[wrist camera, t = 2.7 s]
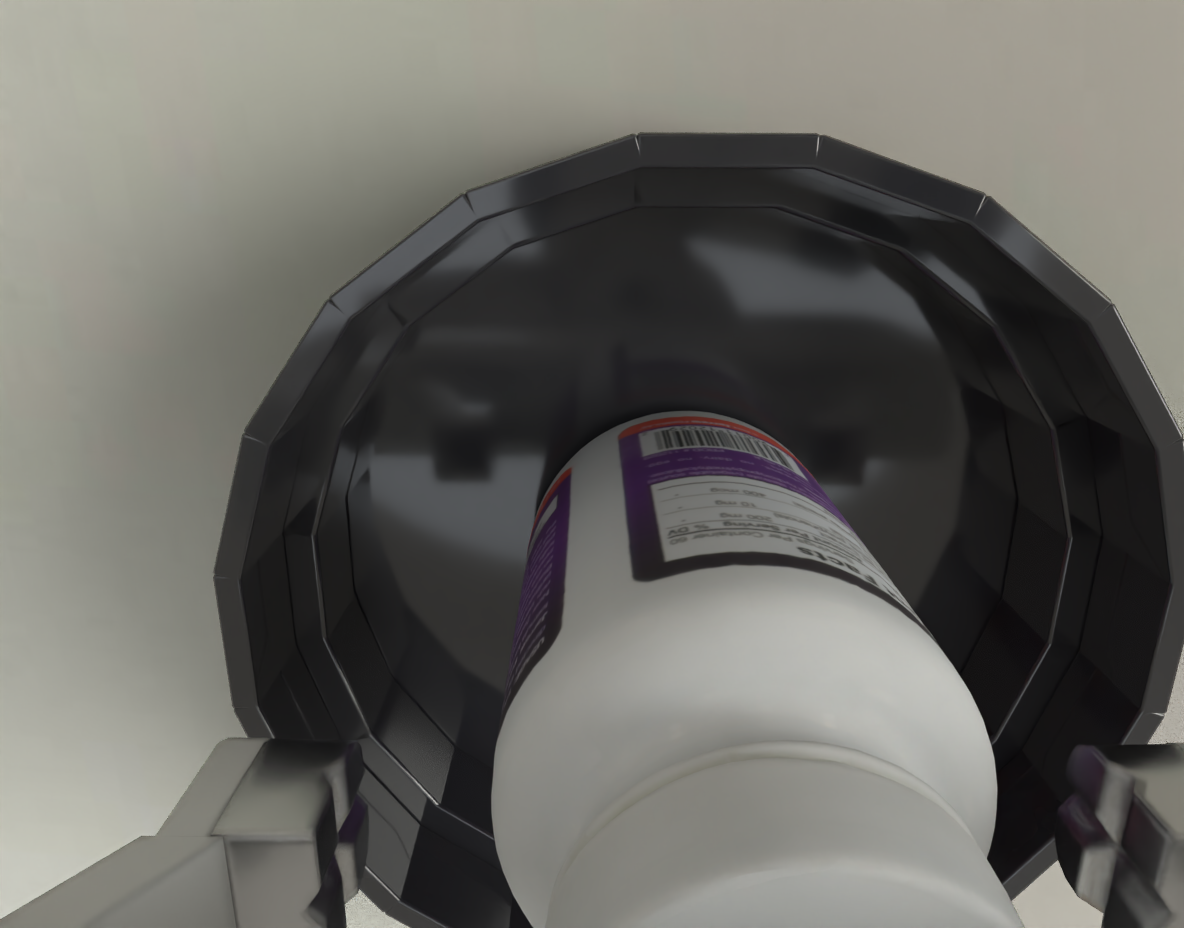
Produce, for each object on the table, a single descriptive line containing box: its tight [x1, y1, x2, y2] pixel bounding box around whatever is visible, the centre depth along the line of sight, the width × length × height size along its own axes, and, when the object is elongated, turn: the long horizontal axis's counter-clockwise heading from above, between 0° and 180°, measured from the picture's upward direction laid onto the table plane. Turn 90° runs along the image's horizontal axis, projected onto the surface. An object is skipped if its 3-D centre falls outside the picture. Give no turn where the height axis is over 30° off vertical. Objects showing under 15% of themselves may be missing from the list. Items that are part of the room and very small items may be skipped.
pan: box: [213, 132, 1184, 928], centre depth 14 cm, size 14×14×4 cm
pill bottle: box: [491, 411, 1025, 928], centre depth 11 cm, size 5×5×10 cm
